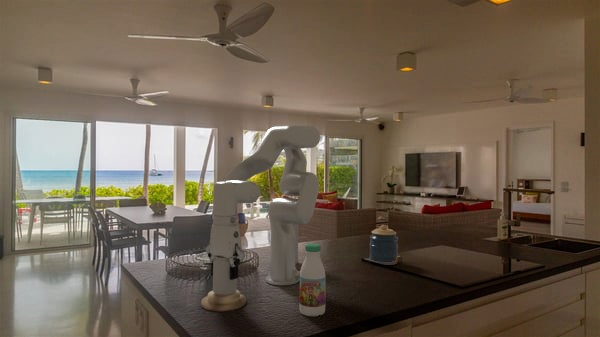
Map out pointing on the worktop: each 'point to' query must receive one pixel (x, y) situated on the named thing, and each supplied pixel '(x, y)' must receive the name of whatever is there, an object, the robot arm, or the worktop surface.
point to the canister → (383, 245)
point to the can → (223, 277)
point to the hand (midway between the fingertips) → (224, 276)
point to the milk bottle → (312, 283)
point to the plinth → (223, 301)
